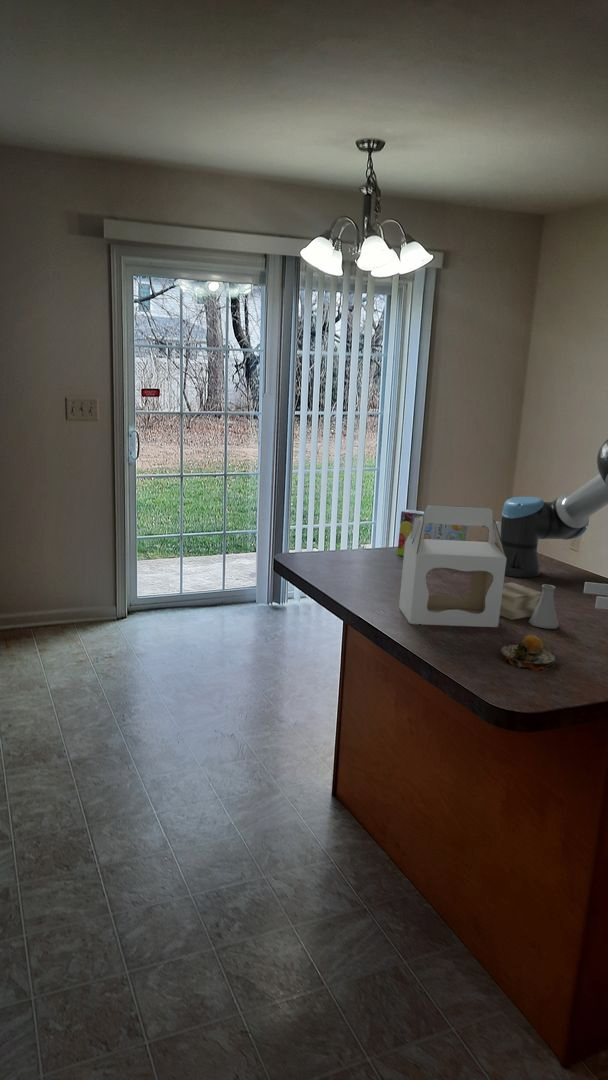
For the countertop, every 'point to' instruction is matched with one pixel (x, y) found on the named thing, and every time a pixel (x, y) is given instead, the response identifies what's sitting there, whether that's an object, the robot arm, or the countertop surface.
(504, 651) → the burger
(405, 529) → the snack box
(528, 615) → the beech box
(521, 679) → the countertop surface
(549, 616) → the flask
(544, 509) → the robot arm
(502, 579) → the gable box
